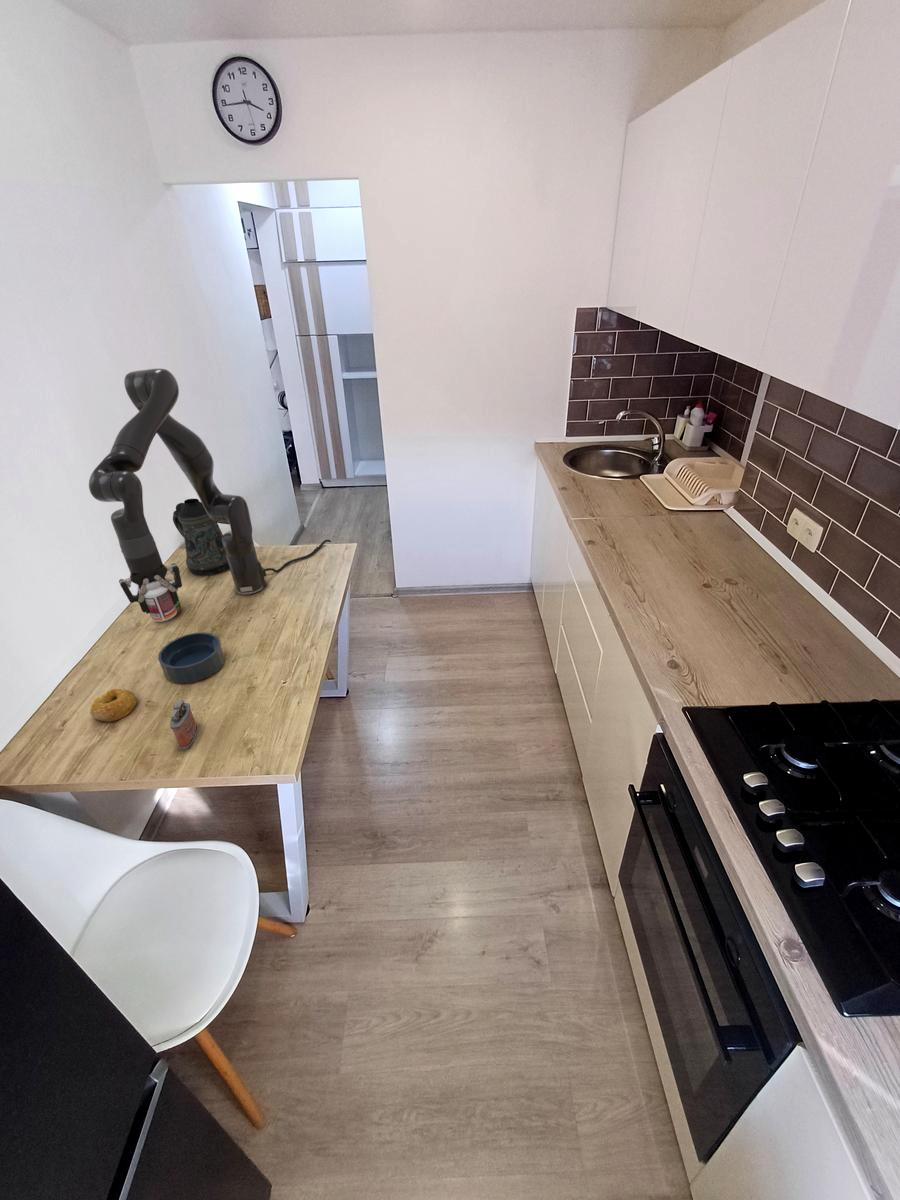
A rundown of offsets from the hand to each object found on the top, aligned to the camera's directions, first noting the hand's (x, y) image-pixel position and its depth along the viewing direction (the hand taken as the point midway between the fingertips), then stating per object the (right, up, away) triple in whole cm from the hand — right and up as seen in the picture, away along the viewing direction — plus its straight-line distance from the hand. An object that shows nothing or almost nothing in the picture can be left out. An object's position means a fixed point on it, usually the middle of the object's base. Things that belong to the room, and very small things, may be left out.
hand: (161, 607), depth 148 cm
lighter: (+13, -31, -13) cm, 36 cm away
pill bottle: (0, -2, +2) cm, 3 cm away
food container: (-13, -3, +33) cm, 36 cm away
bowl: (+4, -17, +10) cm, 20 cm away
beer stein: (-13, +14, +60) cm, 64 cm away
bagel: (-9, -26, -4) cm, 28 cm away
